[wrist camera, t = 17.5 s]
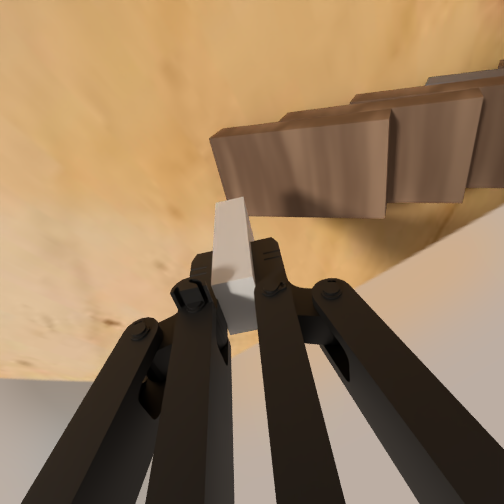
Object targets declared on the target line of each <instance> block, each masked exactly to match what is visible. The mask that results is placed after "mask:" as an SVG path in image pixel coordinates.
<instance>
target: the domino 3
mask: <svg viewBox="0 0 504 504" xmlns="http://www.w3.org/2000/svg"><path fill="white" fill-rule="evenodd" d="M473 88H479V89H480V91H481V93H482V95H483V97H484V98H483V102H482V107H481V112H480V117H479V122H478V127H477V132H476V137H475V142H474V147H473V152H472V157H471V162H470V167H469V172H468V177H467V182H466V187H465V188H504V76H498V77H490V78H483V79H475V80H467V81H459V82H451V83H443V84H436V85H428V86H420V87H412V88H404V89H397V90H389V91H381V92H373V93H365V94H357V95H355V97H354V98H353V99H352V101H351V102H350V105H351V104H359V103H366V102H374V101H382V100H389V99H397V98H404V97H412V96H420V95H427V94H435V93H442V92H450V91H458V90H465V89H473Z"/></svg>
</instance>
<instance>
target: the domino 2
mask: <svg viewBox="0 0 504 504" xmlns="http://www.w3.org/2000/svg"><path fill="white" fill-rule="evenodd" d="M483 98H484V97H483V95H482V93H481V91H480V89H479V88H473V89H465V90H458V91H450V92H442V93H435V94H427V95H420V96H412V97H404V98H397V99H389V100H382V101H374V102H366V103H359V104H351V105H343V106H336V107H328V108H321V109H313V110H305V111H298V112H290V113H287V114H286V115H285V116H284V117H283V118H282V119H281V120H280V121H279V122H283V121H291V120H299V119H308V118H316V117H324V116H332V115H341V114H349V113H357V112H365V111H374V110H382V109H390V108H391V124H390V146H389V167H388V189H387V203H462V202H463V197H464V192H465V187H466V182H467V177H468V172H469V167H470V162H471V157H472V152H473V147H474V142H475V137H476V132H477V127H478V122H479V117H480V112H481V107H482V102H483Z"/></svg>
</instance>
